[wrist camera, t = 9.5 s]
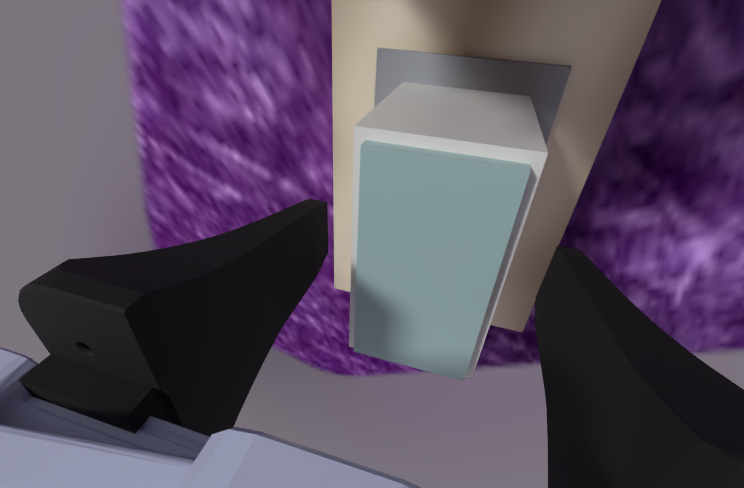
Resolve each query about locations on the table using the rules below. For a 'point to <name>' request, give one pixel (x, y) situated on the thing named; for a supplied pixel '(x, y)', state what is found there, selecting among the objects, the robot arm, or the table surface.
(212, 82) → the table surface
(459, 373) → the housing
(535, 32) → the stand
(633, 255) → the table surface
